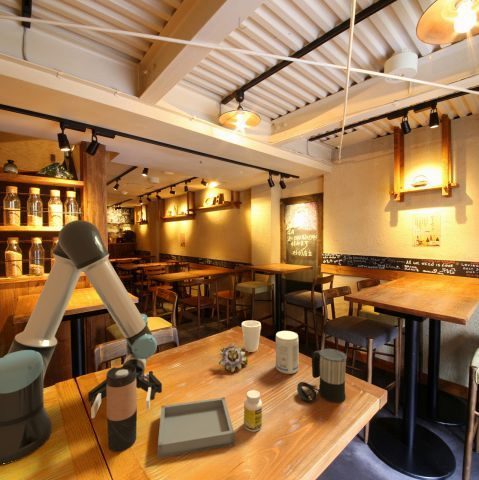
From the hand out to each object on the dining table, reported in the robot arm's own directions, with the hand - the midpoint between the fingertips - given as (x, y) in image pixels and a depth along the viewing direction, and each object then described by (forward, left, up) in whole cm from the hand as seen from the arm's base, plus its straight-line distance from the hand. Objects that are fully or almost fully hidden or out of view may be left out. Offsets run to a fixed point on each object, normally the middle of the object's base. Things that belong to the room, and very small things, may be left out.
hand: (120, 409), depth 72 cm
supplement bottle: (+37, +1, -11) cm, 38 cm away
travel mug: (0, +3, -11) cm, 12 cm away
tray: (+20, +3, -11) cm, 23 cm away
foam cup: (+50, +51, -11) cm, 72 cm away
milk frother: (+64, +9, -11) cm, 66 cm away
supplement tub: (+60, +30, -11) cm, 68 cm away
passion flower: (+38, +37, -11) cm, 54 cm away
